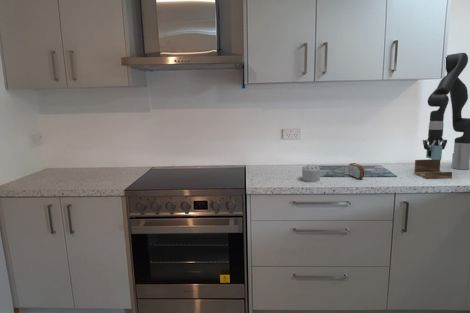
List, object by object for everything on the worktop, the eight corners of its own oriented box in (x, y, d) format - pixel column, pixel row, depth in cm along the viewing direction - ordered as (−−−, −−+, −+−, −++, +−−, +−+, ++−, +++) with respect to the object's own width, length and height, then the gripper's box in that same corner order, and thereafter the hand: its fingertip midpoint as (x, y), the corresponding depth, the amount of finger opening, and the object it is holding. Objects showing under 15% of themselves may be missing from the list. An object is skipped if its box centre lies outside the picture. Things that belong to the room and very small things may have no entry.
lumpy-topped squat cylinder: (318, 177, 209) (318, 163, 208) (321, 182, 196) (321, 168, 195) (301, 177, 210) (301, 163, 209) (303, 182, 198) (303, 168, 196)
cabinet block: (426, 157, 205) (427, 144, 203) (433, 157, 205) (434, 144, 203) (433, 159, 197) (434, 146, 196) (441, 159, 197) (442, 146, 196)
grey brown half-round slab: (364, 180, 199) (365, 166, 197) (359, 180, 198) (360, 166, 197) (351, 174, 213) (352, 161, 212) (347, 174, 213) (347, 162, 211)
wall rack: (414, 173, 209) (415, 159, 208) (438, 173, 209) (439, 159, 208) (426, 179, 196) (427, 164, 195) (451, 178, 196) (453, 163, 195)
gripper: (444, 127, 201) (441, 155, 204) (420, 128, 202) (418, 155, 204) (451, 128, 194) (449, 157, 197) (427, 129, 194) (425, 158, 197)
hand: (433, 156), depth 201 cm, fingers closed on cabinet block, 4 cm apart
